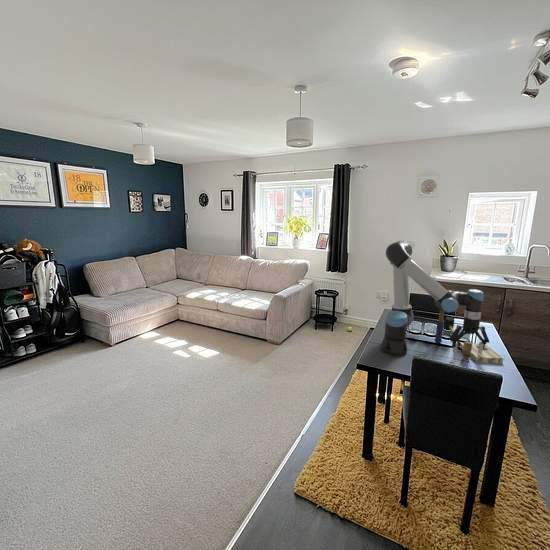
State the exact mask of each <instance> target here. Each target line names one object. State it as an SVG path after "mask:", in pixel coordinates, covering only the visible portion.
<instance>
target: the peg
mask: <svg viewBox="0 0 550 550" xmlns="http://www.w3.org/2000/svg"><path fill="white" fill-rule="evenodd" d="M463 343H464V346H463V350H462V353H461V355H462V356H461V357H462V358H463V359H464V361H467V360H468V361H470V358H471V357H470V356H471V350H472V343H473V342H471V341H463ZM463 359H462V360H463Z"/></svg>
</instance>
